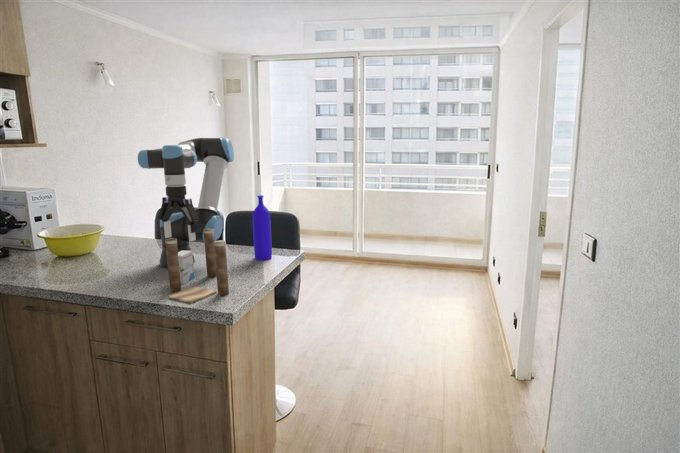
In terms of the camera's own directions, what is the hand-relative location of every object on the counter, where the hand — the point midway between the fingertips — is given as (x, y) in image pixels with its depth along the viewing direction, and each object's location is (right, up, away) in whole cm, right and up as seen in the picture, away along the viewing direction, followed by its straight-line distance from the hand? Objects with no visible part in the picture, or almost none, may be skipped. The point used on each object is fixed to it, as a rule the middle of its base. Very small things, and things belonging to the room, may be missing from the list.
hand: (180, 239), depth 176 cm
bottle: (+27, -10, +35) cm, 46 cm away
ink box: (0, -17, +4) cm, 18 cm away
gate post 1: (+1, -19, -7) cm, 21 cm away
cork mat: (+9, -20, -13) cm, 26 cm away
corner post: (+20, -20, -11) cm, 31 cm away
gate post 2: (+10, -16, +9) cm, 21 cm away
